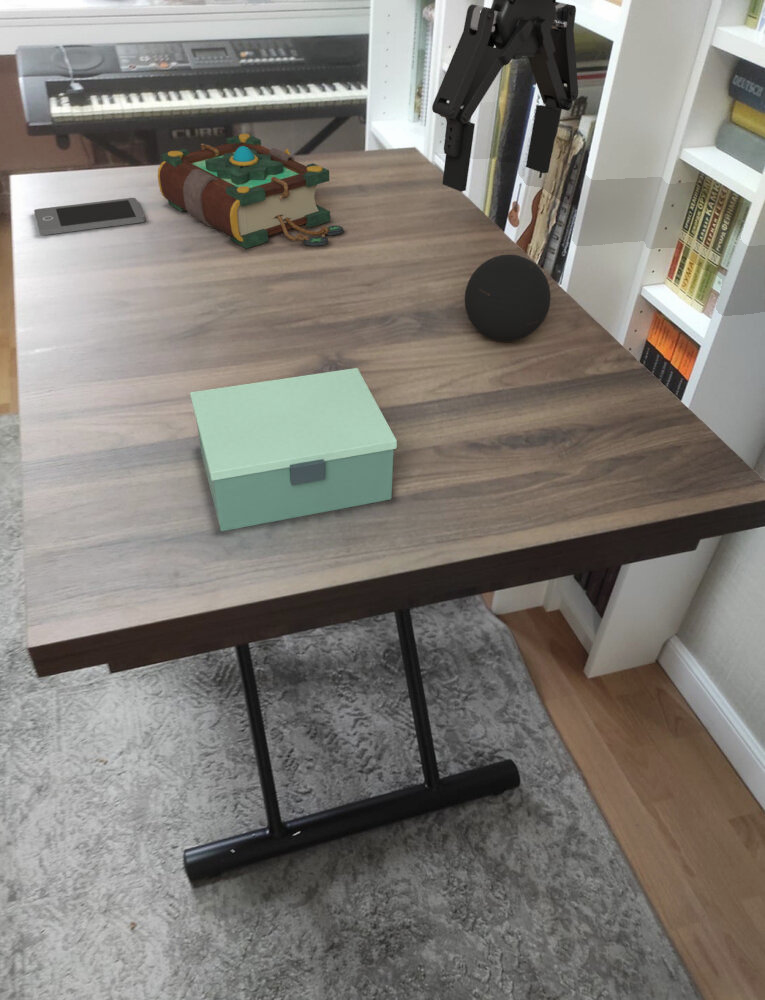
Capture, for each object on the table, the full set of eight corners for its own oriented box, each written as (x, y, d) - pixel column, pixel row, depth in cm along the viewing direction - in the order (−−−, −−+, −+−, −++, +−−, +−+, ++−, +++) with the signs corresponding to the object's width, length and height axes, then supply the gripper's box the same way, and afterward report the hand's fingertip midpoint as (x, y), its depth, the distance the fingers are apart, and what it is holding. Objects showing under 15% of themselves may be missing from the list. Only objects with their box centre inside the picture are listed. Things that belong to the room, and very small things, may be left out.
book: (375, 228, 124) (377, 159, 118) (260, 268, 113) (255, 195, 107) (269, 176, 139) (265, 113, 132) (157, 207, 128) (147, 140, 121)
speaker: (456, 352, 98) (464, 273, 92) (466, 311, 106) (473, 236, 99) (541, 362, 97) (555, 283, 91) (545, 321, 105) (558, 245, 98)
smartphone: (136, 201, 129) (135, 196, 129) (146, 221, 123) (145, 217, 123) (34, 213, 125) (33, 208, 124) (40, 235, 119) (39, 230, 118)
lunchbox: (355, 422, 87) (356, 365, 83) (395, 503, 78) (398, 443, 73) (197, 448, 83) (189, 389, 79) (219, 537, 74) (211, 476, 69)
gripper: (582, -57, 87) (542, 154, 100) (410, -62, 73) (389, 185, 86) (642, -48, 83) (593, 171, 96) (472, -52, 69) (441, 206, 82)
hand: (497, 178), depth 91 cm, fingers open, 13 cm apart
